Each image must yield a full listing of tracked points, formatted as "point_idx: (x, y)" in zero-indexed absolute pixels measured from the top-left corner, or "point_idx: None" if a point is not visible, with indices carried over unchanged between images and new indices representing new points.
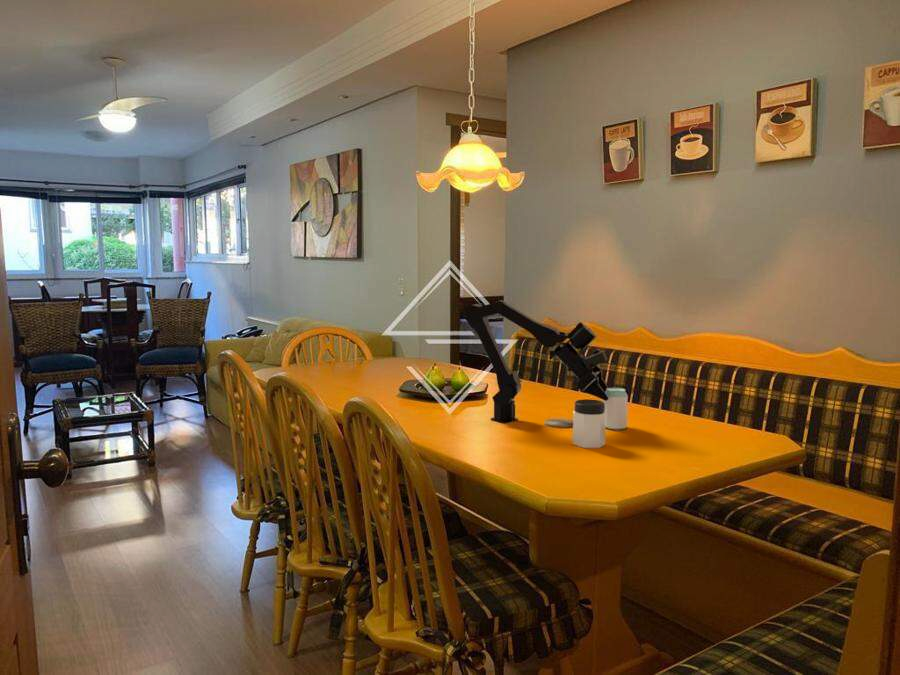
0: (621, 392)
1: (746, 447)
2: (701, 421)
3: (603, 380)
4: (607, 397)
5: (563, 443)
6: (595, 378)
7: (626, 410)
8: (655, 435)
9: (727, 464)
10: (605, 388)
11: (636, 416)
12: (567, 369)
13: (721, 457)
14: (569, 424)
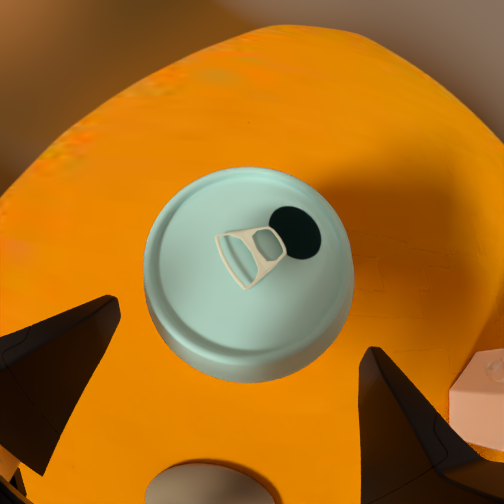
0: (328, 214)
1: (378, 66)
2: (163, 77)
3: (10, 342)
4: (385, 355)
5: None
6: (2, 428)
7: (283, 236)
8: (344, 182)
9: (484, 131)
10: (85, 338)
11: (78, 208)
12: None
13: (459, 121)
14: (247, 494)
